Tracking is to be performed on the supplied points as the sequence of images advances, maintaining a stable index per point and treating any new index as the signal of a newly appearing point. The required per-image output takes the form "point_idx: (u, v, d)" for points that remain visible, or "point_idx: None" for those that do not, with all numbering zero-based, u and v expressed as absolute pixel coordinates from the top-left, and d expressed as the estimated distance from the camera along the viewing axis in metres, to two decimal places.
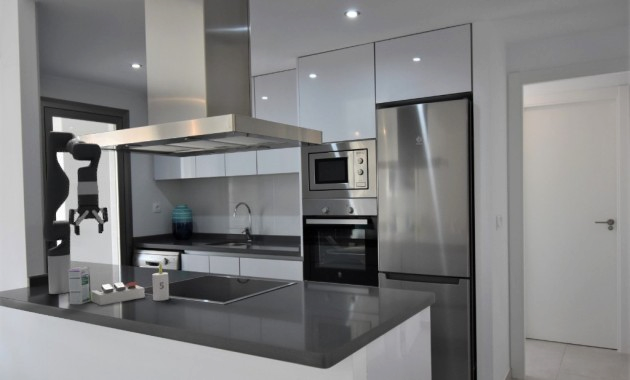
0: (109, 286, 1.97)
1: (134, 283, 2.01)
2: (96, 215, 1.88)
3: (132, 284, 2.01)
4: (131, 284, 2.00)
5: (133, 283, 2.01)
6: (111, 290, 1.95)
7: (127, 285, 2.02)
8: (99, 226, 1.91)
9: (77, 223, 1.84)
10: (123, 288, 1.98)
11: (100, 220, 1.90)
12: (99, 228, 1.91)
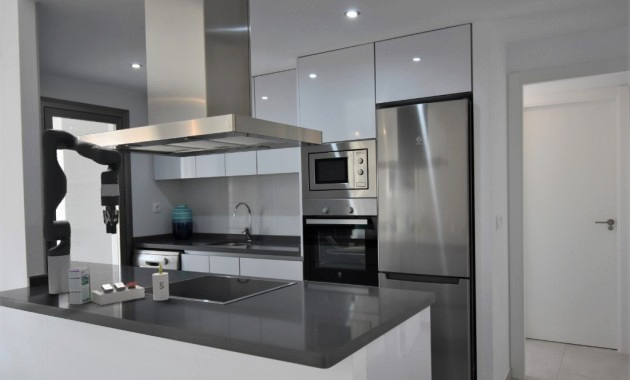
0: (109, 286, 1.97)
1: (134, 283, 2.01)
2: None
3: (132, 284, 2.01)
4: (131, 284, 2.00)
5: (133, 283, 2.01)
6: (111, 290, 1.95)
7: (127, 285, 2.02)
8: (109, 227, 2.09)
9: None
10: (123, 288, 1.98)
11: None
12: (109, 228, 2.09)
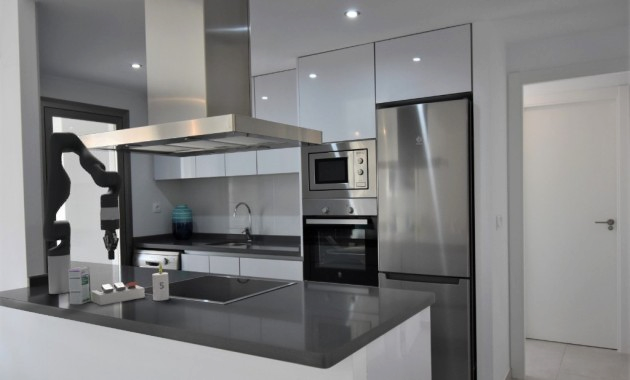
0: (109, 286, 1.97)
1: (134, 283, 2.01)
2: None
3: (132, 284, 2.01)
4: (131, 284, 2.00)
5: (133, 283, 2.01)
6: (111, 290, 1.95)
7: (127, 285, 2.02)
8: None
9: None
10: (123, 288, 1.98)
11: None
12: None
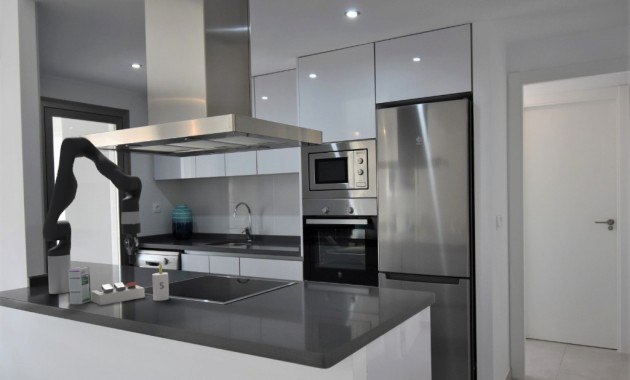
0: (109, 286, 1.97)
1: (134, 283, 2.01)
2: None
3: (132, 284, 2.01)
4: (131, 284, 2.00)
5: (133, 283, 2.01)
6: (111, 290, 1.95)
7: (127, 285, 2.02)
8: None
9: None
10: (123, 288, 1.98)
11: None
12: None
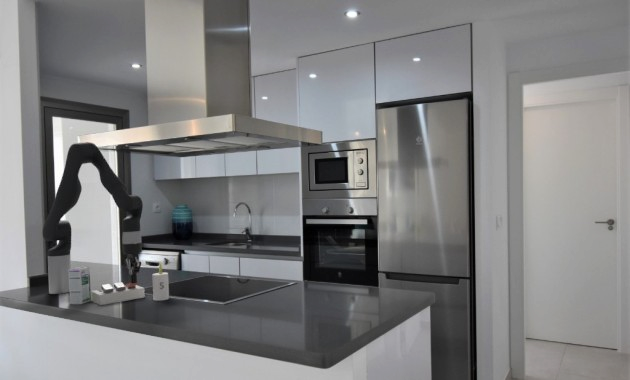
0: (109, 286, 1.97)
1: (134, 283, 2.01)
2: None
3: (132, 284, 2.01)
4: (131, 284, 2.00)
5: (133, 283, 2.01)
6: (111, 290, 1.95)
7: (127, 285, 2.02)
8: None
9: None
10: (123, 288, 1.98)
11: None
12: None
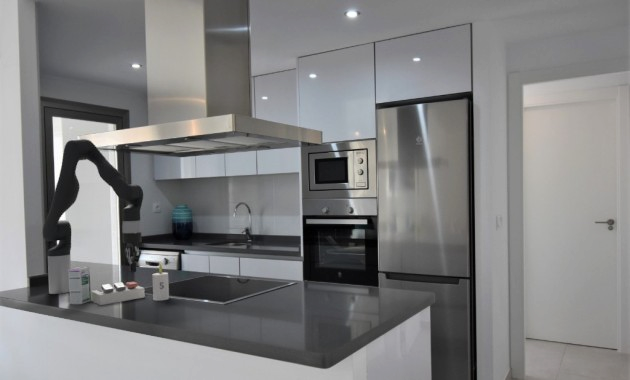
0: (109, 286, 1.97)
1: (134, 285, 2.01)
2: None
3: (132, 286, 2.01)
4: (131, 286, 2.00)
5: (133, 285, 2.01)
6: (111, 290, 1.95)
7: (127, 285, 2.02)
8: None
9: None
10: (123, 288, 1.98)
11: None
12: None
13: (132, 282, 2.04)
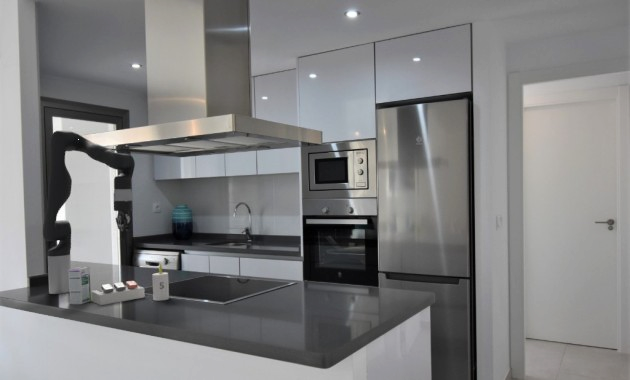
0: (109, 286, 1.97)
1: (134, 286, 2.01)
2: None
3: (132, 287, 2.01)
4: (131, 287, 2.00)
5: (133, 286, 2.01)
6: (111, 290, 1.95)
7: (127, 284, 2.02)
8: None
9: None
10: (123, 288, 1.98)
11: None
12: None
13: (132, 282, 2.04)
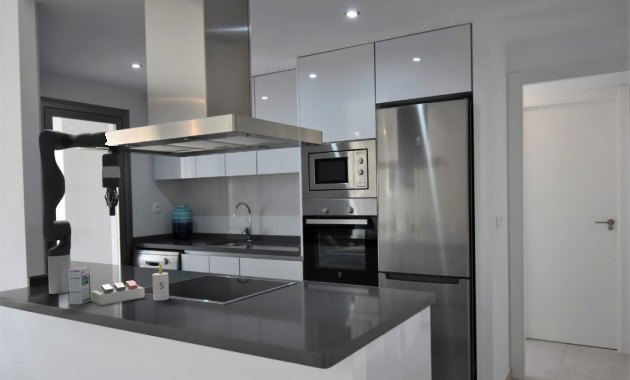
0: (109, 286, 1.97)
1: (134, 286, 2.01)
2: None
3: (132, 287, 2.01)
4: (131, 287, 2.01)
5: (133, 286, 2.01)
6: (111, 290, 1.95)
7: (127, 284, 2.02)
8: None
9: None
10: (123, 288, 1.98)
11: None
12: None
13: (132, 282, 2.04)
